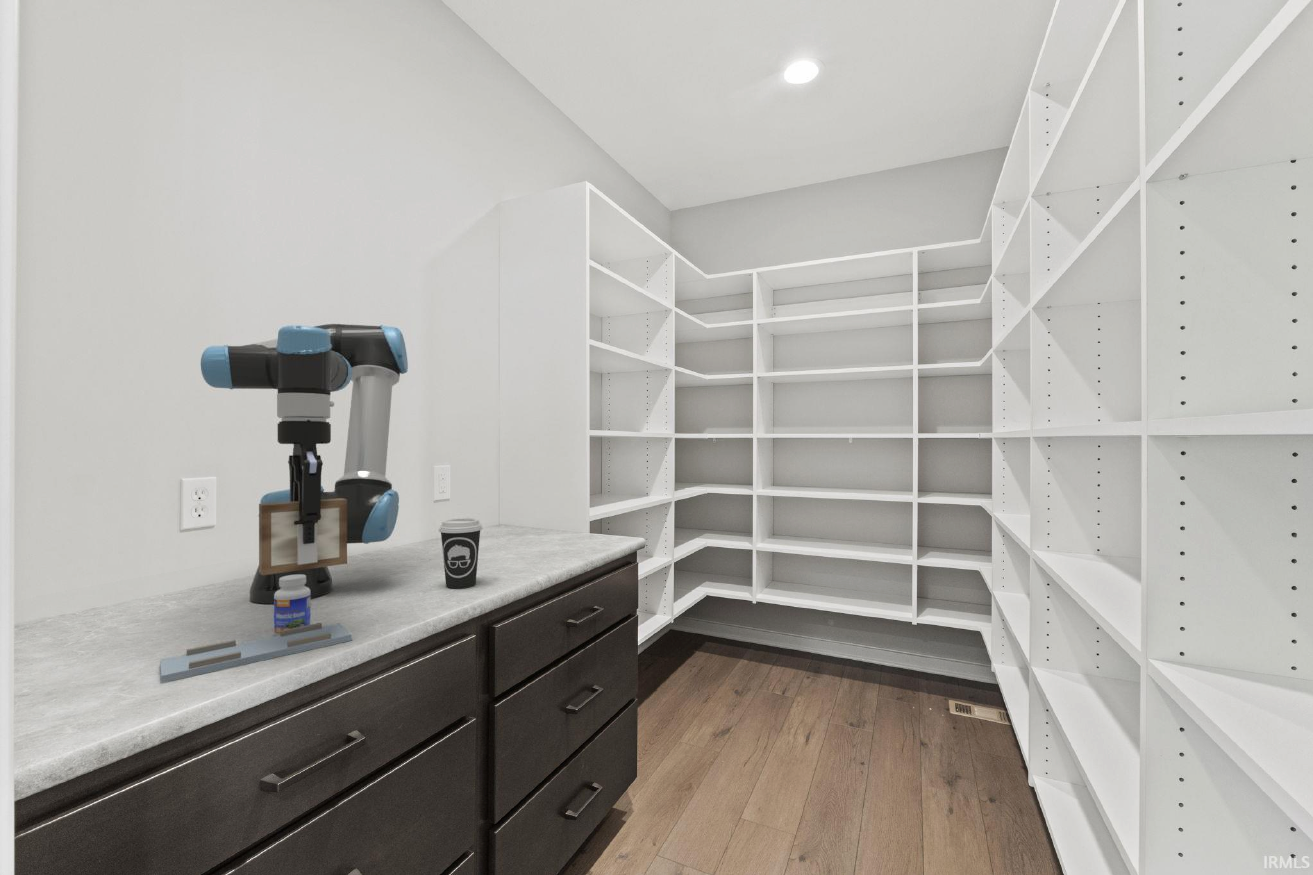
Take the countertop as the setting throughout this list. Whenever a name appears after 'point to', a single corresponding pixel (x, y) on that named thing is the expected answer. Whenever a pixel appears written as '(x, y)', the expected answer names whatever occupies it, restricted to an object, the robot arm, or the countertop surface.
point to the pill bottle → (291, 603)
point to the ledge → (251, 650)
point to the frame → (282, 536)
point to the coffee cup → (460, 551)
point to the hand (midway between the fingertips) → (304, 560)
